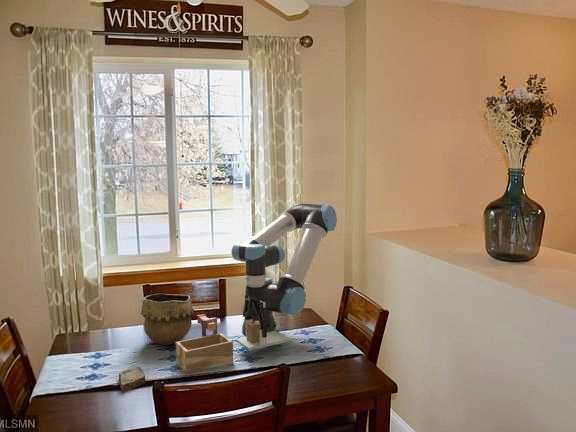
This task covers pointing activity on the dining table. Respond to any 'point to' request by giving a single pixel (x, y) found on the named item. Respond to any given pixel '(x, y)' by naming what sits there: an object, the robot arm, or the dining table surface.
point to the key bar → (209, 325)
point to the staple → (205, 325)
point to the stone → (131, 379)
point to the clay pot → (167, 317)
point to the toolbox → (204, 352)
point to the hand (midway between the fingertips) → (256, 340)
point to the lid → (254, 337)
